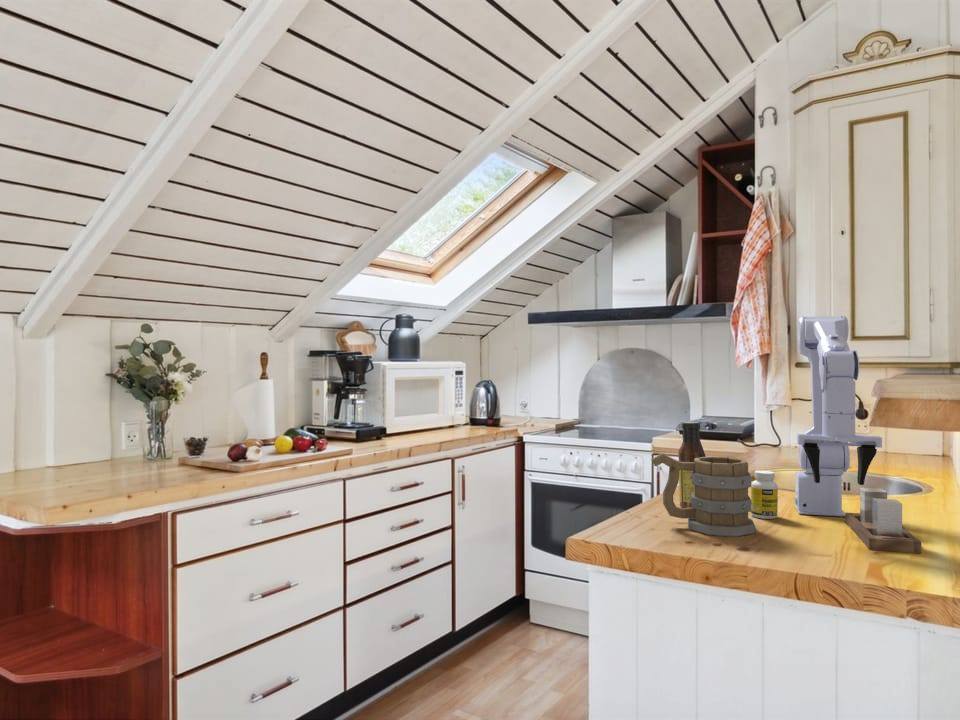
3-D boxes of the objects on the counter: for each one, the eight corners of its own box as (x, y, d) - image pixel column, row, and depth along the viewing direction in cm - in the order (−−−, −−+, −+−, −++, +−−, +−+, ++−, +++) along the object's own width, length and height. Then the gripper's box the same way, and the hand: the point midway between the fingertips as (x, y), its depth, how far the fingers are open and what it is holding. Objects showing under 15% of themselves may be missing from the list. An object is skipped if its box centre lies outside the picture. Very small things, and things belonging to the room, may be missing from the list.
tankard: (750, 523, 147) (750, 452, 147) (757, 538, 135) (757, 460, 135) (652, 517, 152) (652, 448, 152) (650, 531, 140) (650, 456, 140)
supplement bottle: (761, 520, 150) (761, 474, 149) (745, 514, 155) (745, 470, 155) (783, 518, 151) (783, 473, 151) (766, 513, 156) (766, 469, 156)
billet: (877, 545, 129) (877, 502, 129) (872, 540, 133) (872, 498, 133) (902, 547, 128) (902, 503, 128) (896, 541, 132) (896, 499, 132)
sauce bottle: (713, 510, 159) (713, 422, 159) (690, 512, 157) (690, 423, 157) (694, 504, 165) (694, 420, 165) (672, 506, 163) (672, 421, 163)
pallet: (869, 549, 127) (869, 505, 127) (845, 522, 148) (845, 484, 148) (921, 553, 124) (921, 508, 124) (889, 524, 145) (889, 486, 145)
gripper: (800, 413, 134) (800, 484, 134) (886, 415, 130) (886, 488, 130) (795, 411, 141) (795, 478, 141) (876, 412, 136) (876, 482, 136)
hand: (838, 483), depth 136 cm, fingers open, 7 cm apart
